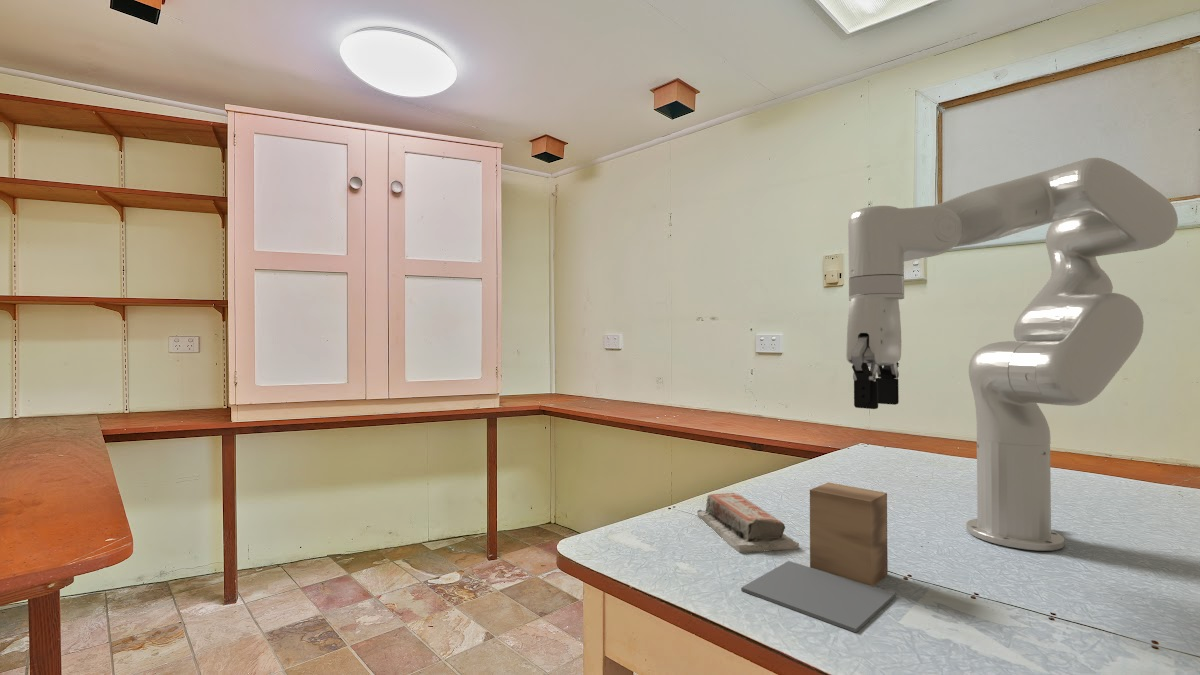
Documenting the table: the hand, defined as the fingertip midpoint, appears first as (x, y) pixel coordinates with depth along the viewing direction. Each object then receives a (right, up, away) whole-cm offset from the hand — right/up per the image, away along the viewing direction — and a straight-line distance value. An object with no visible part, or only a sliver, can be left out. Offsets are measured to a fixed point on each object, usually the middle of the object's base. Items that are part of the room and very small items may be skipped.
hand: (876, 405), depth 83 cm
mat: (-15, -22, -15) cm, 30 cm away
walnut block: (-8, -22, -8) cm, 25 cm away
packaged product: (-18, -23, +8) cm, 30 cm away
